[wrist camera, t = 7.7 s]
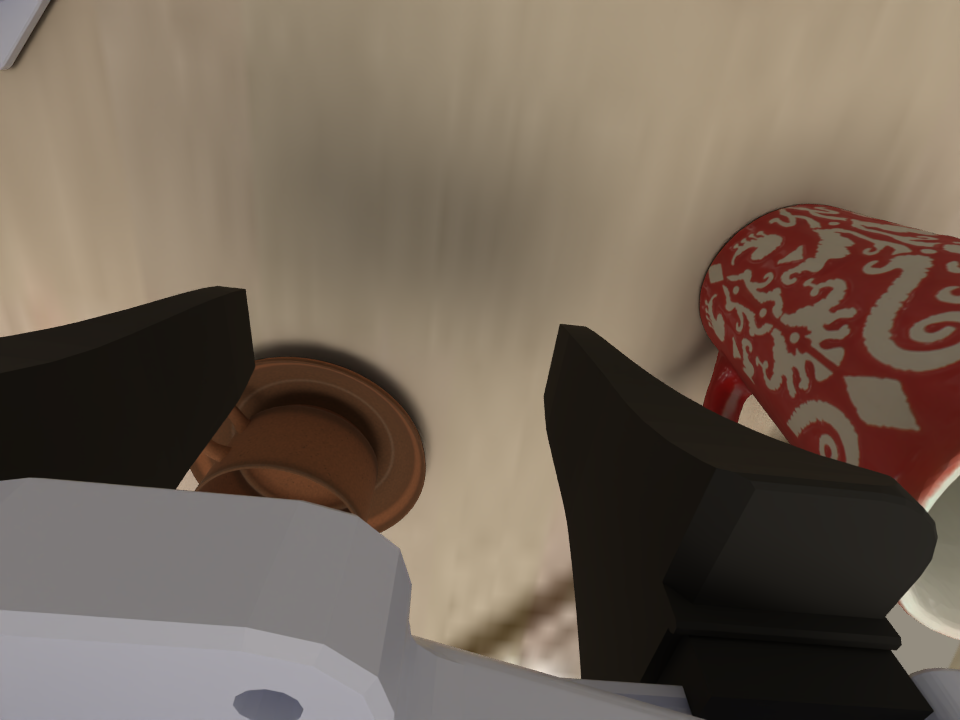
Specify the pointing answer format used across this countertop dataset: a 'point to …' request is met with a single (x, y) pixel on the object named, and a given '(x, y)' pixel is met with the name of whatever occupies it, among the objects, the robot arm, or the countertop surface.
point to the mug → (851, 358)
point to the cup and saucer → (317, 443)
